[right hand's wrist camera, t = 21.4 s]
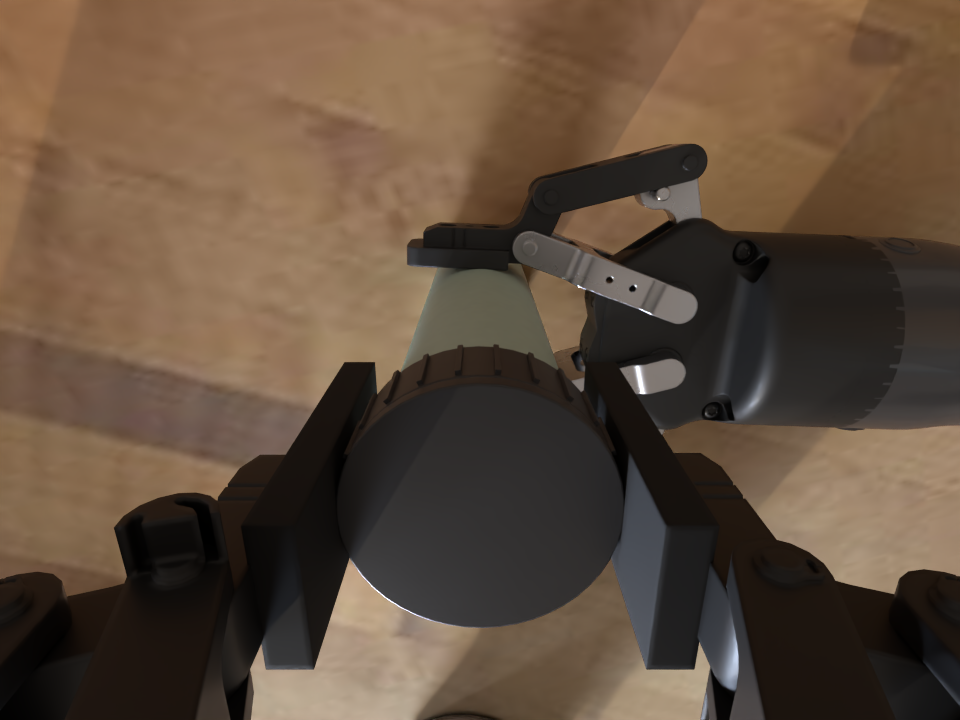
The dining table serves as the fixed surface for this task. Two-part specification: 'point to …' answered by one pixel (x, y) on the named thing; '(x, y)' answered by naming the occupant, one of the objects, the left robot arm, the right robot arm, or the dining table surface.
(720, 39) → the dining table surface
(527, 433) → the lid
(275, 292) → the dining table surface
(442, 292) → the bottle
